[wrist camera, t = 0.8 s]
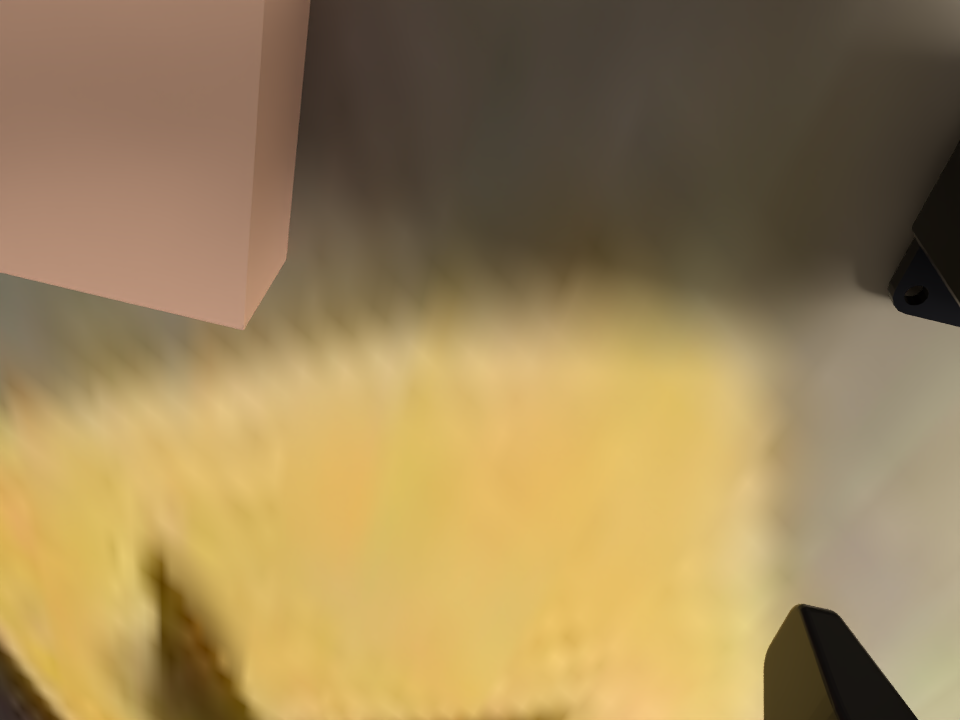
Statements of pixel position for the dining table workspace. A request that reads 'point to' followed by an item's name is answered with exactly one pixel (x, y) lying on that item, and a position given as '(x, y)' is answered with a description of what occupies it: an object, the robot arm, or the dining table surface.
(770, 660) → the robot arm
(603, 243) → the dining table surface
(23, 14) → the terracotta block
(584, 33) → the dining table surface
